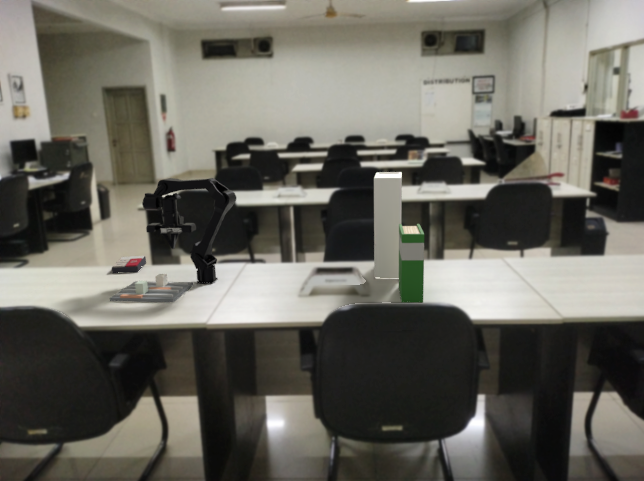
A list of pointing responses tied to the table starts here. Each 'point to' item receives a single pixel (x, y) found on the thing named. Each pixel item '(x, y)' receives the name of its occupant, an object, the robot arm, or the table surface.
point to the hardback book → (411, 263)
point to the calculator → (129, 264)
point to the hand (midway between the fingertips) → (173, 248)
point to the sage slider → (141, 287)
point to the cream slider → (161, 280)
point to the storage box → (387, 223)
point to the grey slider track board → (153, 292)
